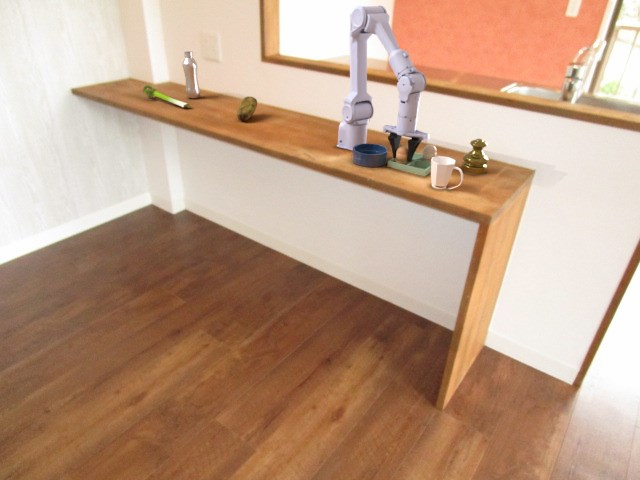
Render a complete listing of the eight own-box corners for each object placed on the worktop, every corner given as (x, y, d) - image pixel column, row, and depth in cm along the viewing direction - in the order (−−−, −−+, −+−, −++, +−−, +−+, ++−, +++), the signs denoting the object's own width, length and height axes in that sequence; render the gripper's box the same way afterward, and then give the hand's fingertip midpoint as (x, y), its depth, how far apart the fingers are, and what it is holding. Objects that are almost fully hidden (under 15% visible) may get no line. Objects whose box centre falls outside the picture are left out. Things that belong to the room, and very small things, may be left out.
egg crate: (387, 167, 144) (387, 160, 142) (405, 156, 153) (406, 150, 152) (424, 177, 137) (425, 170, 136) (441, 165, 146) (442, 158, 145)
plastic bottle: (203, 97, 214) (199, 51, 204) (193, 100, 209) (188, 53, 199) (194, 95, 217) (188, 50, 207) (183, 98, 212) (177, 52, 202)
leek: (180, 114, 195) (139, 96, 210) (193, 113, 200) (152, 96, 215) (181, 100, 192) (139, 83, 207) (194, 99, 198) (152, 83, 212)
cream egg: (418, 165, 145) (421, 144, 142) (424, 161, 148) (427, 141, 145) (431, 168, 143) (434, 147, 140) (436, 164, 146) (439, 144, 143)
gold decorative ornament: (489, 170, 144) (496, 139, 139) (478, 177, 139) (485, 145, 134) (467, 164, 148) (473, 134, 143) (456, 170, 143) (462, 139, 138)
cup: (433, 180, 136) (437, 154, 132) (465, 189, 130) (470, 162, 126) (421, 187, 131) (426, 160, 127) (454, 197, 126) (459, 169, 122)
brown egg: (392, 166, 144) (394, 145, 140) (398, 162, 147) (400, 142, 143) (404, 169, 142) (407, 148, 138) (410, 165, 145) (413, 145, 141)
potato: (228, 120, 183) (227, 100, 179) (248, 113, 193) (247, 94, 189) (245, 123, 180) (244, 103, 176) (264, 116, 190) (263, 96, 186)
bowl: (345, 163, 146) (346, 149, 144) (363, 154, 154) (364, 140, 151) (375, 171, 140) (377, 157, 138) (392, 161, 148) (394, 148, 146)
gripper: (379, 113, 137) (375, 157, 144) (424, 123, 130) (418, 168, 137) (390, 109, 142) (386, 151, 149) (434, 117, 135) (428, 161, 142)
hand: (402, 159), depth 143 cm, fingers open, 4 cm apart
